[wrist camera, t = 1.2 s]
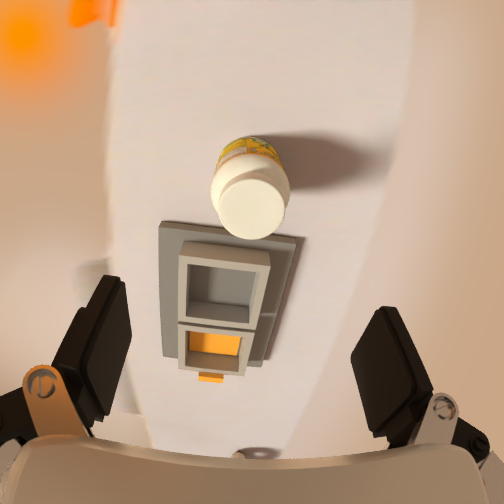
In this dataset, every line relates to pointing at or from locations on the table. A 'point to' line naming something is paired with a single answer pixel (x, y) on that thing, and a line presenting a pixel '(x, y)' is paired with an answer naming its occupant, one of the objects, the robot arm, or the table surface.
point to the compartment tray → (219, 297)
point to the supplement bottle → (250, 188)
